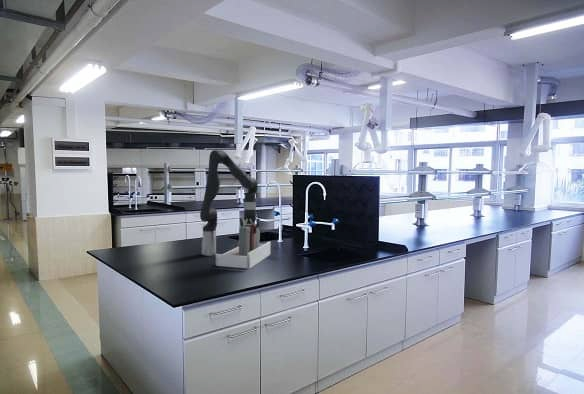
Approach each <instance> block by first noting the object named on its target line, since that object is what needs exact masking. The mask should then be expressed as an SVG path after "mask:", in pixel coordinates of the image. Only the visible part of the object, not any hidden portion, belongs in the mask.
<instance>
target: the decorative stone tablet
mask: <svg viewBox="0 0 584 394" xmlns="http://www.w3.org/2000/svg"><path fill="white" fill-rule="evenodd" d="M260 232H261V231H260V227H258V228H256V233H255V234H254V227H253V226H252V224H247V225H245V226H242V227H241V226H239V228H238V247H239V255H243V256H246V255H247V253H249V252H251V251H253V250H254V249H256V248H258V245H259V244H260V238H261V233H260Z"/></svg>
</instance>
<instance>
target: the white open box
mask: <svg viewBox="0 0 584 394" xmlns="http://www.w3.org/2000/svg"><path fill="white" fill-rule="evenodd" d="M271 244H272V243H271V241H267V242H265V243H259V245H258V248H256V249H254V250H253V251H251V252H249V253H247V256H238V255H230V254H233V253H235V252H238V251H239V246H237V247H235V248H233V249H230V250H228V251H227V252H225V253H222V254H221V253H216V255H215V266H217V267H227V268H237V269H240V268H241V269H251V268H252V267H254V266H255V265H257V264H258V263H260V262H261V261H263V260H264V259H266V258H268V257H269V256H270V255H271V254H272V253H271V250H272V247H271Z"/></svg>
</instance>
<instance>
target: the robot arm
mask: <svg viewBox="0 0 584 394" xmlns="http://www.w3.org/2000/svg"><path fill="white" fill-rule="evenodd" d="M221 164H223V165H224V166H225V167H227V168H228V170H229V172H230V175H232V176H233V177H234V178H235V179H236V180H237V181H238V182H239V183H240V186H242V187H243V188H244V189H245V190H247V192H245V194H244V204H243V205H244V206H243V207H244V208H243V210H244V211H243V213H244V215H243V217H239V225H240V226H239V227H242V226H245V225H252V226H253V227H254V234H255V233H256V228H260V225H261V224H260V223H261V219H260V218H257V216H256V215H257V214H256V213H257V211H256V210H257V205H256V203H257V202H256V194H257V190H258V181H257V179H256V178H253V177H251V178H249V177H248V175H247V173H246V171H244V169H242V168H241V167H239V166H238V165H237V164H236V163H235V162H234V161H233V159H232V158H231V157H230V156H229V154H227V152H226V151H224V150H222V149H220V150H219V149H215V150H212V151H211V152H210V153H209V158H208V171H207V177H206V183H205V191H204V195H203V201H202V204H201V208H200V213H199V217H200V221H202V222H203V223H206V222H207V223H206V224H204V225H203V226H202V241H201V255H202V256H209V257H210V256H216V254H217V227H218V211H217V210H216V208H214V207H211V205H212V203H213V201H214V200H215V199H216V197H217V195H218V194H219V193H220V185H221V180H220V177H219V175H218V173H219V172H218V168H219V165H221Z"/></svg>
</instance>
